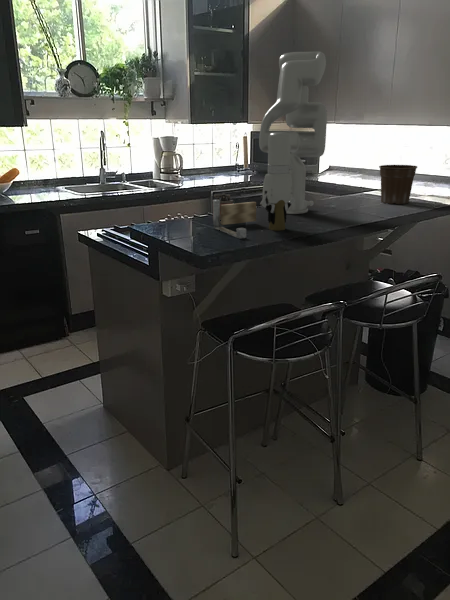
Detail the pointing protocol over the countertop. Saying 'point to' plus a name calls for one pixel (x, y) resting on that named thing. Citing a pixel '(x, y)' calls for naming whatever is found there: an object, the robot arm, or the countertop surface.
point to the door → (238, 213)
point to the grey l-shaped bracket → (239, 232)
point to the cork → (278, 217)
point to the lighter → (223, 200)
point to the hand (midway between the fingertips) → (277, 222)
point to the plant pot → (396, 183)
